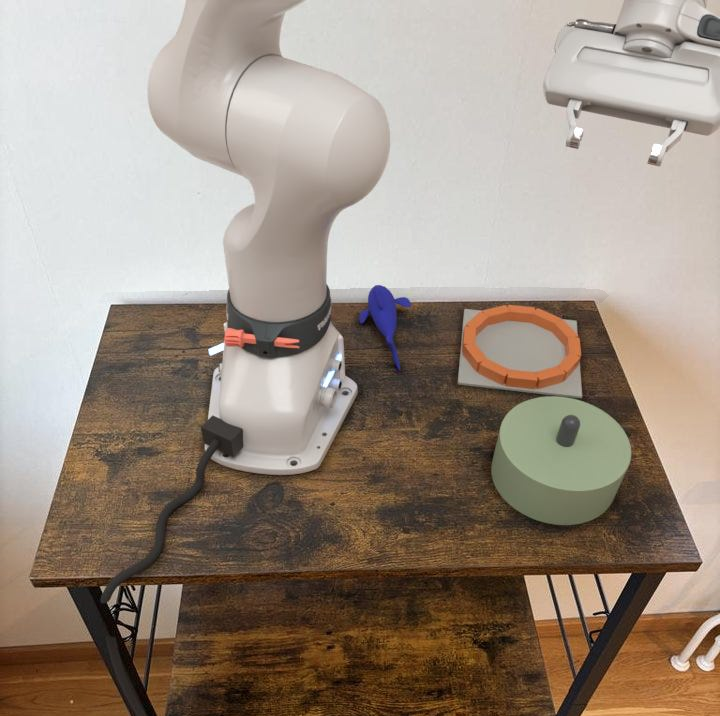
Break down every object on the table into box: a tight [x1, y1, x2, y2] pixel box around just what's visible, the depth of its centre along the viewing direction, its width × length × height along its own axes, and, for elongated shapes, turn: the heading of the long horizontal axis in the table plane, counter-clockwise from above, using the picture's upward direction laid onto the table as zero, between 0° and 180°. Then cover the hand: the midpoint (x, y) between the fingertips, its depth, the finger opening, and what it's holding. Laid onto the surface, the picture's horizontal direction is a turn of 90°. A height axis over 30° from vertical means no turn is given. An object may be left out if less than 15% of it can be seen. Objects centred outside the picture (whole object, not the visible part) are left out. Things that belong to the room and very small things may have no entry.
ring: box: [462, 304, 582, 389], centre depth 99 cm, size 16×16×2 cm
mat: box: [457, 308, 583, 399], centre depth 100 cm, size 16×16×1 cm
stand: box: [490, 395, 632, 526], centre depth 82 cm, size 14×14×10 cm
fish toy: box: [358, 284, 412, 372], centre depth 99 cm, size 15×8×7 cm, turn 7°
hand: (612, 154), depth 84 cm, fingers open, 8 cm apart
